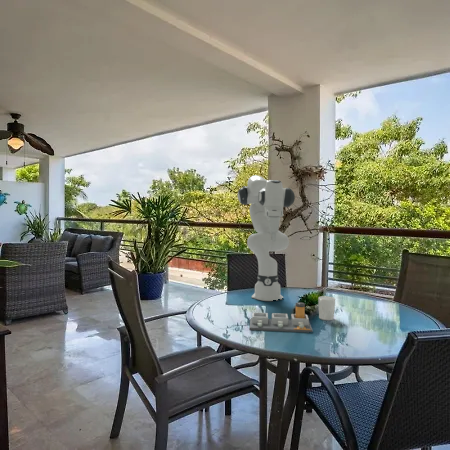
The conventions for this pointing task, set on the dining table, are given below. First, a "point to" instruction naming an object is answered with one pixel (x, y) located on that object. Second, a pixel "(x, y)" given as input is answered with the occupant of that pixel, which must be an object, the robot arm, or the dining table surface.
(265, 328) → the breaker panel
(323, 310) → the white cup
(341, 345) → the dining table surface
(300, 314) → the orange capped bottle
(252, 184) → the robot arm
